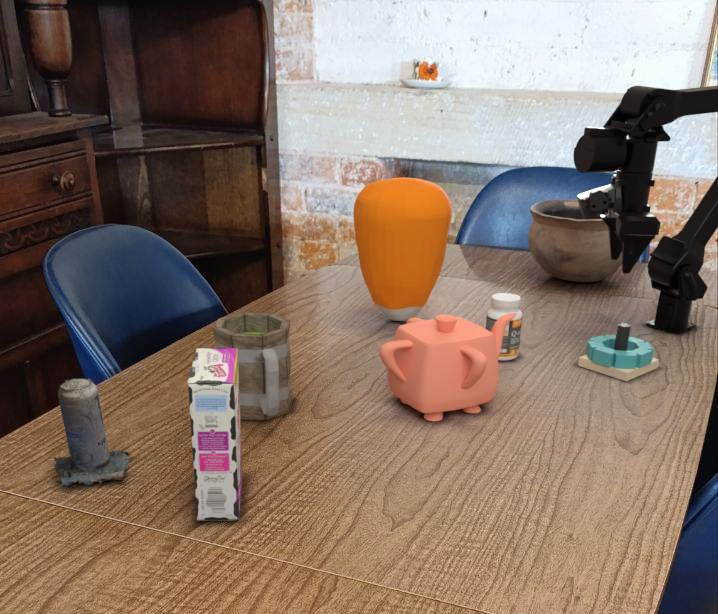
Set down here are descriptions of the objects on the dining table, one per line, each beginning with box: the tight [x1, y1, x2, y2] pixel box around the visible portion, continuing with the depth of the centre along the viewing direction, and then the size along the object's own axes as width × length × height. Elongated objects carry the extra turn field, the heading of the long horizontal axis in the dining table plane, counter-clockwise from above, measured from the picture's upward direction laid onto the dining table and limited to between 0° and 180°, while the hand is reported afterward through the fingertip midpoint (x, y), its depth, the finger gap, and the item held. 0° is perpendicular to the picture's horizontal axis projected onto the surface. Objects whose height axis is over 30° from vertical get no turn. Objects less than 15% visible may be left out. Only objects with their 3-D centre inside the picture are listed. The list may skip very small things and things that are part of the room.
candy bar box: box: [187, 347, 243, 522], centre depth 97 cm, size 11×5×16 cm, turn 5°
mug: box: [212, 312, 293, 421], centre depth 120 cm, size 16×11×12 cm
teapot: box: [378, 313, 517, 422], centre depth 123 cm, size 17×16×13 cm
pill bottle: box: [485, 292, 524, 362], centre depth 142 cm, size 6×6×10 cm
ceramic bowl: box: [527, 198, 622, 283], centre depth 185 cm, size 22×22×15 cm
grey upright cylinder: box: [53, 377, 131, 488], centre depth 103 cm, size 9×8×12 cm
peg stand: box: [577, 322, 660, 382], centre depth 139 cm, size 9×9×7 cm
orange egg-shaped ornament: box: [352, 177, 453, 322], centre depth 154 cm, size 17×17×25 cm
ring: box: [585, 334, 655, 369], centre depth 140 cm, size 10×10×2 cm
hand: (619, 266), depth 150 cm, fingers open, 9 cm apart
